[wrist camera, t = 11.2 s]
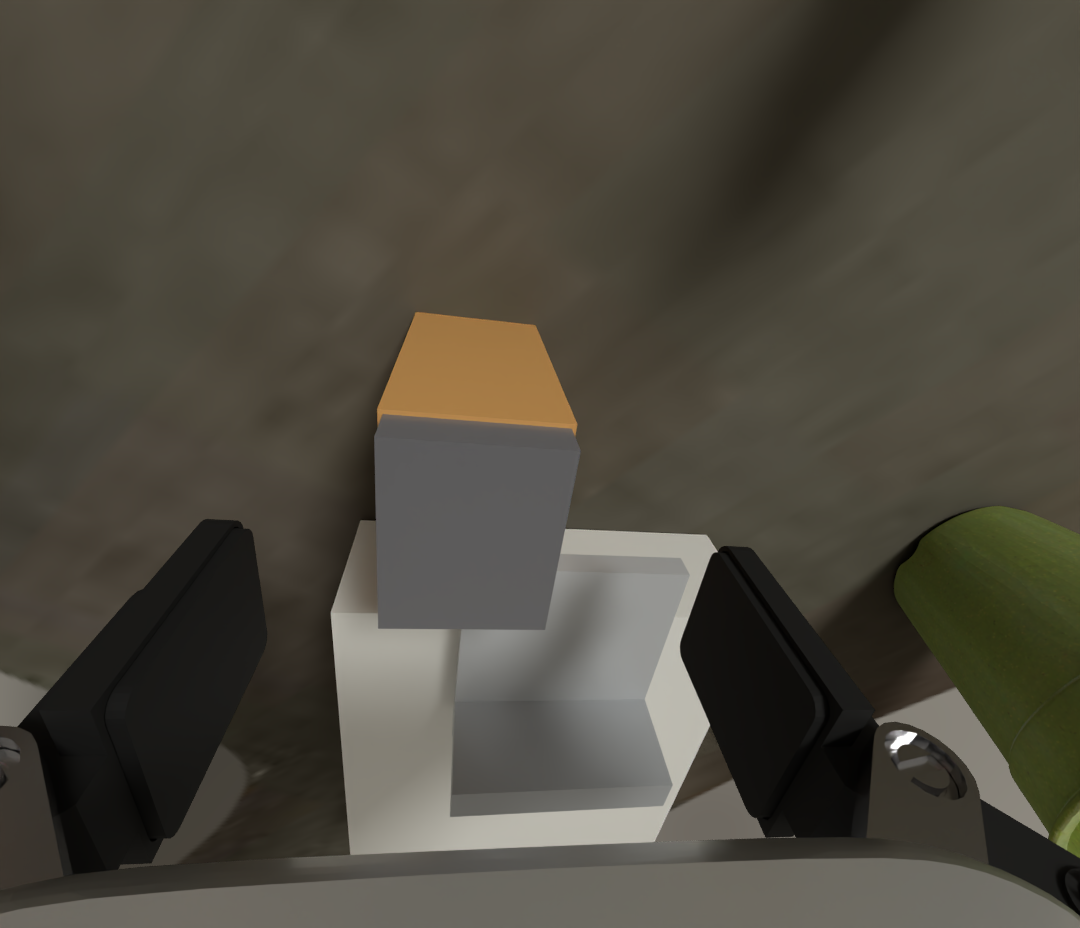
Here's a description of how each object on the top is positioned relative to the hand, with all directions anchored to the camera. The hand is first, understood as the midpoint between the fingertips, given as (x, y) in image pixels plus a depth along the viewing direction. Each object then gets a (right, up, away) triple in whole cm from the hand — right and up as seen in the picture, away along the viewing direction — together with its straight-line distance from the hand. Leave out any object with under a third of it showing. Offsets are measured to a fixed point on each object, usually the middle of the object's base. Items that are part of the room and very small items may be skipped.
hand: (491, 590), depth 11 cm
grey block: (+2, -4, +7) cm, 8 cm away
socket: (0, -8, +16) cm, 17 cm away
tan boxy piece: (-1, +5, +8) cm, 10 cm away
